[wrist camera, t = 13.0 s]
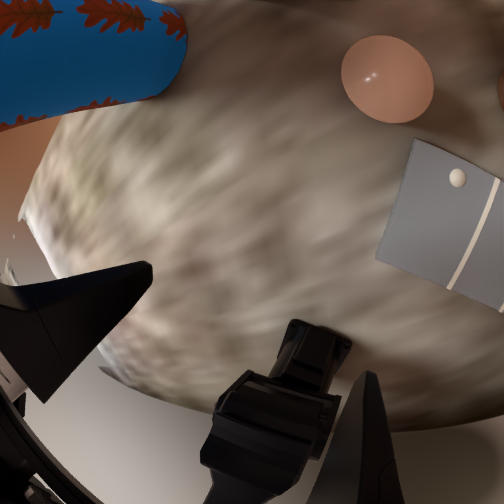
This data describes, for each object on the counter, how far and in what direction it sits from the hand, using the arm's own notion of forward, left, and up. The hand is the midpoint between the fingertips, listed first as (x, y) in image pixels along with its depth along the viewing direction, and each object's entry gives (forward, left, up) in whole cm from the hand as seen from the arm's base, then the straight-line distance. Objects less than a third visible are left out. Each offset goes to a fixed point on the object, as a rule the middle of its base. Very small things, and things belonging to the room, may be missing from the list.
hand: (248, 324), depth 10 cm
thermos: (+11, +19, -13) cm, 26 cm away
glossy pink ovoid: (+10, -2, -13) cm, 16 cm away
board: (+3, -14, -13) cm, 19 cm away
